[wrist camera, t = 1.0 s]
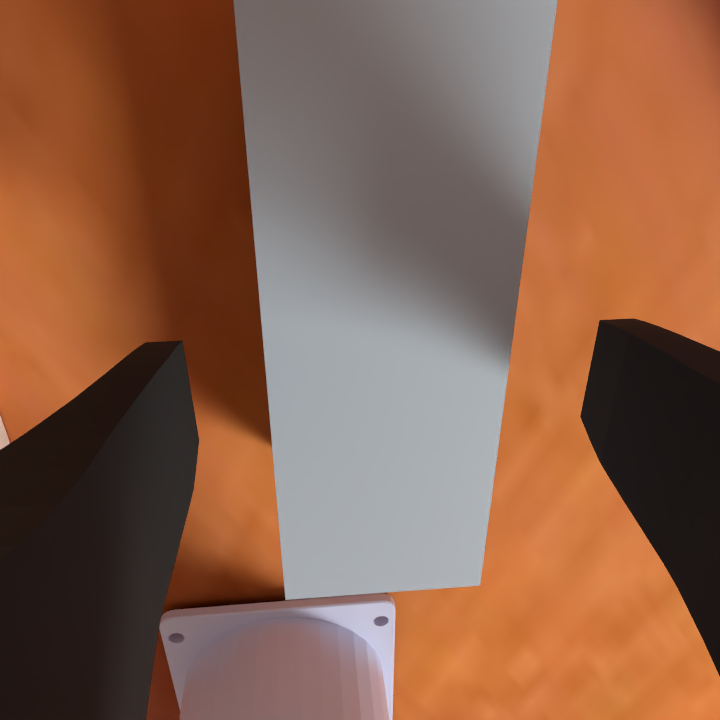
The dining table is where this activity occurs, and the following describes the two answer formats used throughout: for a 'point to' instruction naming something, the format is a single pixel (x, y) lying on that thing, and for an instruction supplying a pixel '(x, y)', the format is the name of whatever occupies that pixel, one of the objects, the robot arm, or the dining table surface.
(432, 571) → the rectangular block
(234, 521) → the dining table surface
